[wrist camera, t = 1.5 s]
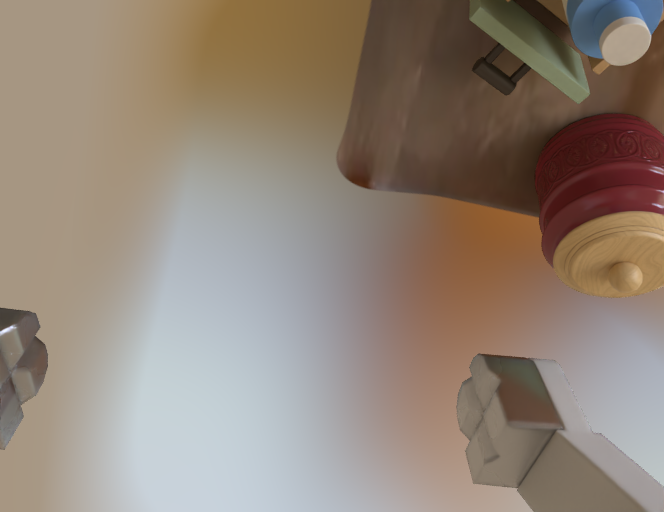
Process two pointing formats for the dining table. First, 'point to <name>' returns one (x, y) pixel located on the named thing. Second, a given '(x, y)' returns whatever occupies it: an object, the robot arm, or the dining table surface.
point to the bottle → (613, 27)
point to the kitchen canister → (604, 205)
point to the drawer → (531, 47)
